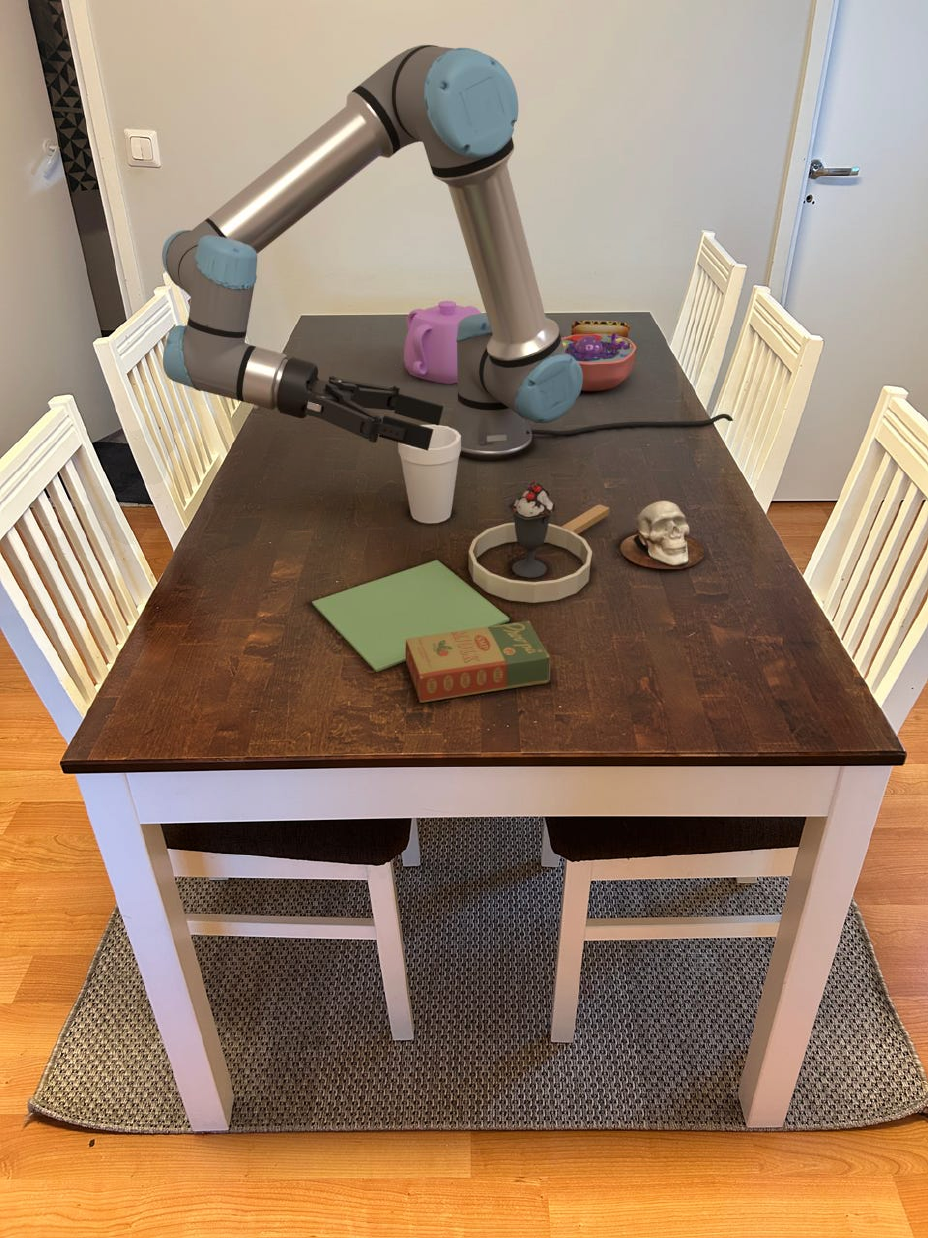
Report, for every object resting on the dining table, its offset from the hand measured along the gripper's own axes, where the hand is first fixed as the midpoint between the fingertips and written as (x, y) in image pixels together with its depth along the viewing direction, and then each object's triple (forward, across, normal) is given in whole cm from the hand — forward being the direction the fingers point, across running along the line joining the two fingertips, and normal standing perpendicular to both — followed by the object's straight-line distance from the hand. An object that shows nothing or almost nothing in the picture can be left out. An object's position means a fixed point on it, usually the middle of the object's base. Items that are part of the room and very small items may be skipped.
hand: (436, 427), depth 125 cm
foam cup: (+2, -16, -18) cm, 24 cm away
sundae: (+18, 0, -16) cm, 24 cm away
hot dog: (+28, -100, +3) cm, 104 cm away
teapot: (-2, -79, -8) cm, 80 cm away
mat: (+3, +12, -22) cm, 25 cm away
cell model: (+26, -73, -2) cm, 77 cm away
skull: (+36, -6, -11) cm, 38 cm away
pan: (+21, -3, -15) cm, 26 cm away
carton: (+13, +24, -22) cm, 35 cm away
